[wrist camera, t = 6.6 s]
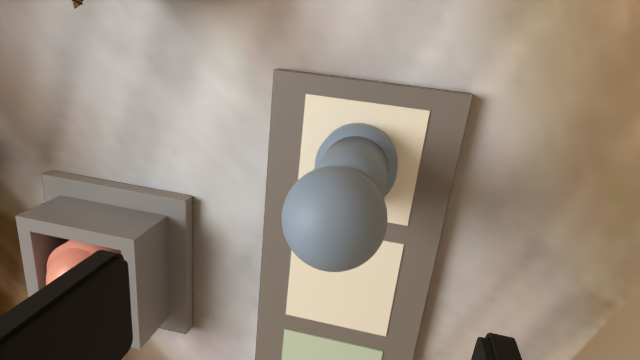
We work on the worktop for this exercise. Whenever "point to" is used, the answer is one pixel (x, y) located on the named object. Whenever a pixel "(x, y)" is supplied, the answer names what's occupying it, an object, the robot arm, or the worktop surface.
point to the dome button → (70, 257)
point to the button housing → (118, 242)
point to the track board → (402, 213)
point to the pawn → (342, 200)
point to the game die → (77, 3)
